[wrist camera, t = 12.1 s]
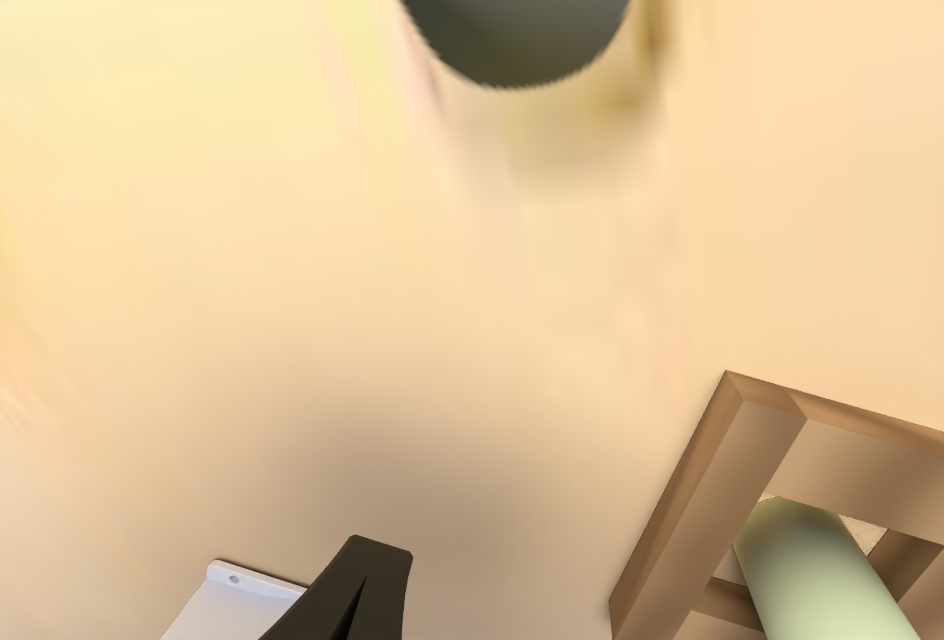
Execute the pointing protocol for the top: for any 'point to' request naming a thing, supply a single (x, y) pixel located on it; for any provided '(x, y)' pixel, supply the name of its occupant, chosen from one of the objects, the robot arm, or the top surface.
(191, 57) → the top surface
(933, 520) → the walnut board
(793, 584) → the peg
